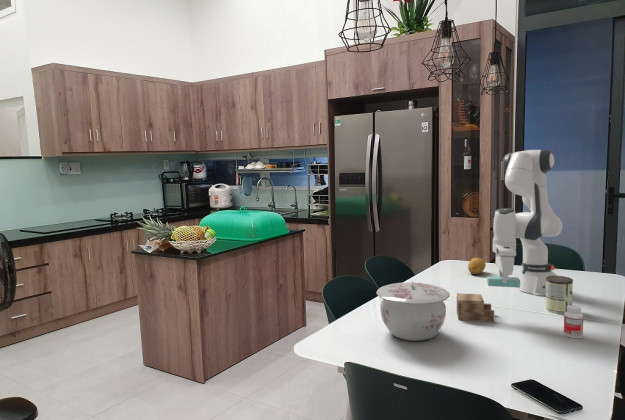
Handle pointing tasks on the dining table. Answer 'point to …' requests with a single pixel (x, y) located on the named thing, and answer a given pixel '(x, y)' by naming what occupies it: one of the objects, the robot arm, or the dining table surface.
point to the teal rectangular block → (498, 282)
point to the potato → (476, 265)
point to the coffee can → (558, 293)
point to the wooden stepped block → (473, 308)
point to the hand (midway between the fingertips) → (503, 280)
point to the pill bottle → (573, 322)
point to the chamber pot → (413, 309)
